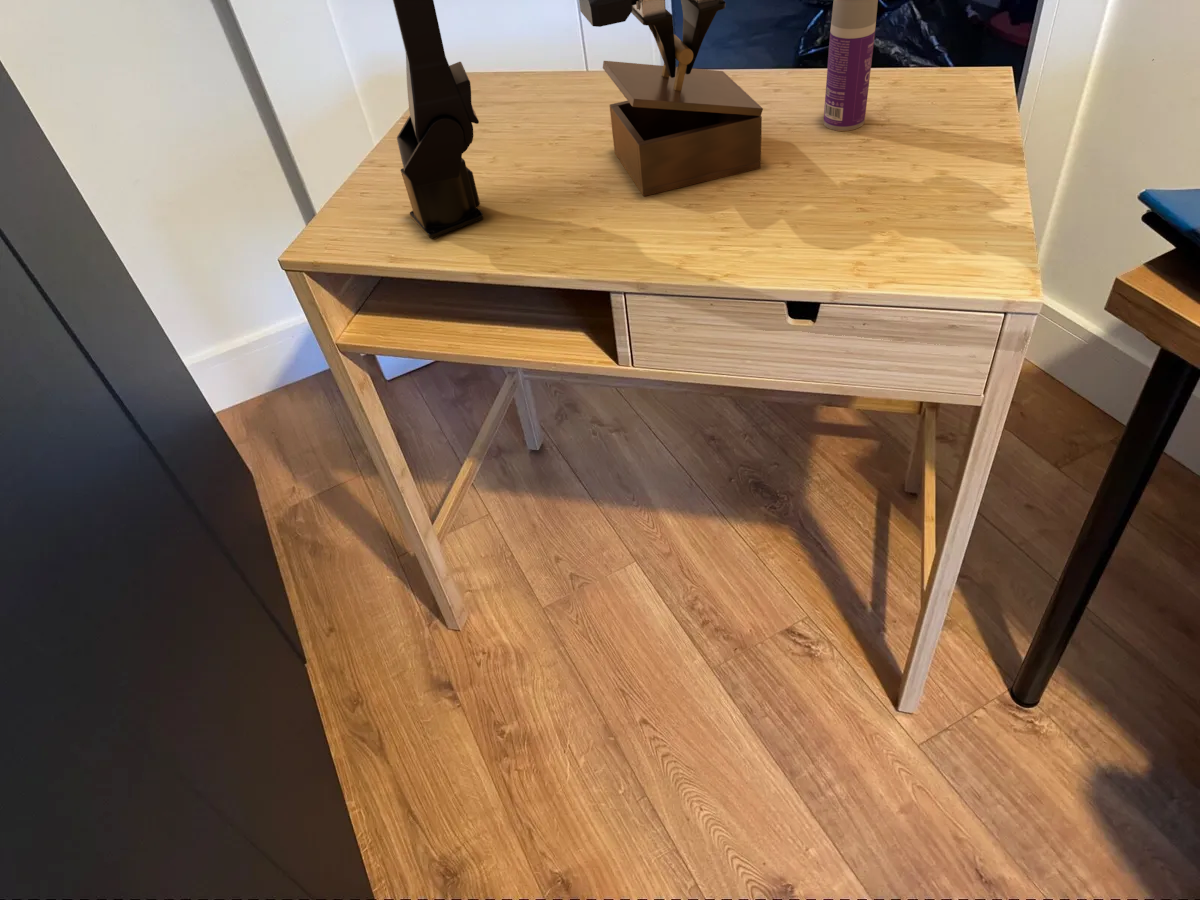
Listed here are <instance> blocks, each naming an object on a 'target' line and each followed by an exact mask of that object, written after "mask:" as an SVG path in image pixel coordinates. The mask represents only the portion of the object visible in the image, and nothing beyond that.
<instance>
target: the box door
mask: <svg viewBox="0 0 1200 900" xmlns="http://www.w3.org/2000/svg"><path fill="white" fill-rule="evenodd" d="M674 43H675V57H676V61H678V63H677V64H678V65H677V66H676V72H675V77H674V78H671V77H670V76H669V74H668V72H667V69H666V66H665V64H664V63H663V65H658V64H647V63H636V62H635V63H634V62H625V61H613V60H603V63H602V69H603V71H604V72H605V73H606V75H607V76H608V77H609V78H610V80H611V81H612V83H613V84H614V85H615V86H616V88H617V89H618V90H619V91H620V93H621V94H622V95H623V96H624V98H625V99H626V101H628V102H629V103H630V104H631V105H632V107H641V108H655V109H669V110H683V111H697V112H711V113H725V114H739V115H753V116H762V113H763V110H764V108H763V107H762V106H761V105H760V104H759V103H757V102H756V100H754V99H753V98H752V97H751V95H749V94H748V93H747V92H746V91H745V90H744V89H743V88H741V86H740V85H738V84H737V83H736V82H735V81H734V80H733V79H732V78H731V77H730V76H729V75H727V73H726V72H724V71H723V70H715V69H705V68H692V70H691V73H690V74H686V73H685V72H686V67H687V65H688V64H689V63H690V62H691V61H692V60H693V52H692V50H691V49H690V48H689V47H687V46H686V45H685V44H684V43H683V40H682V39H680V37H678V36H677V35H676V34H675V33H674Z"/></svg>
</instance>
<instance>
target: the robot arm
mask: <svg viewBox="0 0 1200 900" xmlns="http://www.w3.org/2000/svg"><path fill="white" fill-rule="evenodd" d="M680 3H681V9H682V42H683V43H684V44H685V45H686V46H687V47H689V48H690V49H691V50H692V52H693V60H692V61H691V62H690V63H689V64H688V65H687V67H686V72H685V73H686V74H690V73H691V70H692V68H693V67H694V65H695V62H696V59H697V56H698V54H699V52H700V49H701V46H702V44H703V41H704V39H705V37H706V34H707V32H708V30H709V29H710V26H711V24H712V22H713V20H715V19H714V18H715V16H716V15H717V13H718V12H719V11H722V10H725V8H726V1H725V0H680ZM392 4H393V7H394V11H395V15H396V20H397V23H398V27H399V31H400V35H401V39H402V43H403V48H404V52H405V65H406V66H405V68H406V70H405V71H406V88H407V101H408V111H409V116H408V117H407V120H405V122H404V123H403V126H402V127H401V129H400V131H399V133H398V134H397V136H396V141H397V146H398V151H399V155H400V159H401V162H402V163H401V164H402V168H400V173H401V176H402V180H403V182H404V186H405V190H406V192H407V196H408V199H409V202H410V205H411V209H412V210H411V211H410V212H409V215H410V218H411V220H412V221H414V222H415V224H416V225H417V226H418V227H419V228H420V229H421V230H422V231H423V232H424V234H425V235H426V236H427V237H428V238H430V239H434V238H436V237H439V236H442V235H444V234H448V233H450V232H452V231H455V230H457V229H461V228H463V227H465V226H468V225H471V224H473V223H475V222H478V221H481V220H483V219H484V213H483V212H482V211H481V210H480V209H479V207H480V205H481V201H480V198H479V194H478V190H477V185H476V181H475V177H474V173H473V171H472V170H471V169H470V168H469V167H468V166H467V164H466V161H465V159H464V158H463V154H464V153H465V152H466V151H467V150H468V148H469V147H470V145H471V144H472V143H473V140H474V125H473V124H476V125H478V124H479V123H480V120H479V118H478V116H477V114H476V111H475V109H474V106H473V104H472V86H471V81H470V78H469V76H468V74H467V71H466V69H465V66H464V65H463V63H462V61H457V62H455V63H453V64H452V63H451V64H449V61H448V59H447V56H446V52H445V48H444V44H443V39H442V33H441V29H440V25H439V21H438V15H437V11H436V6H435V1H434V0H392ZM578 4H579V11H580V13H581V14H582V15H583V16H584V18H585V19H586V20H587V21H588V22H589V24H590V25H591V27H596V28H597V27H598V28H601V27H606V26H610V25H615V24H620V23H624V22H626V21H627V20H628V18H629V17H630V15H633V16H634V17H635V18H636V19H637V20H638V21H639V23H641V24H642V25H643V26H648V28H649V30H650V32H651V34H652V36H653V38H654V41H655V43H656V46H657V48H658V50H659V51H658V52H659V53H660V57H661V59H662V61H663V65H664V64H665V66H666V69H667V72H668V74H669V76H670V77H671V78H674V77H675V72H676V67H677V59H676V57H675V43H674V34H675V30H674V29H675V28H674V17H673V14H672V13H671V12H670V11H668V9H666V8H667V7H666V0H578ZM693 69H694V68H693Z"/></svg>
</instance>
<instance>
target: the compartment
mask: <svg viewBox="0 0 1200 900" xmlns="http://www.w3.org/2000/svg"><path fill="white" fill-rule="evenodd" d="M609 113H610V122H611V123H610V124H611V131H612V133H611V134H612V140H613V141H612V142H613V150H614V155H615V156H616V157H617V159H618V160H619V162H620V163H621V165H622V166H623V167H624V170H625V171H626V172H627V174H628V175H629V177H630V178H631V180H632V181H633V183H634V184H635V186H636V187H637V189H638V190H639V192H640V194H641V195H642V196H643V197H647V196H651V195H656V194H660V193H664V192H667V191H673V190H676V189H681V188H684V187H689V186H692V185H696V184H701V183H705V182H709V181H713V180H717V179H721V178H725V177H730V176H734V175H738V174H742V173H746V172H747V173H748V172H751V171H755V170H759V169H761V166H762V165H761V162H762V127H763V126H762V125H763V124H762V123H763V116H762V115H761V116H753V115H739V114H725V113H711V112H697V111H683V110H669V109H655V108H641V107H632V105H631V104H630V103H629V102H628V100H623V101H619V102H615V103H611V104H609Z"/></svg>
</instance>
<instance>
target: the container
mask: <svg viewBox="0 0 1200 900" xmlns="http://www.w3.org/2000/svg"><path fill="white" fill-rule="evenodd" d="M878 2H879V0H833V3H832V11H831V22H830V31H829V42H828V44H829V45H828V55H827V56H828V57H827V69H826V82H825V95H824V109H823V122H822V123H823V125H824V127H825V128H827V129H829V130H832V131H836V132H849V131H854V130H857V129H859V128H861V127H862V126H864V124H865V123H866V122H865V120H866V112H867V106H868V105H867V104H868V98H869V97H868V95H869V87H870V79H871V71H872V62H873V53H874V44H875V36H876V25H877V15H878V14H877V13H878Z"/></svg>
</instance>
